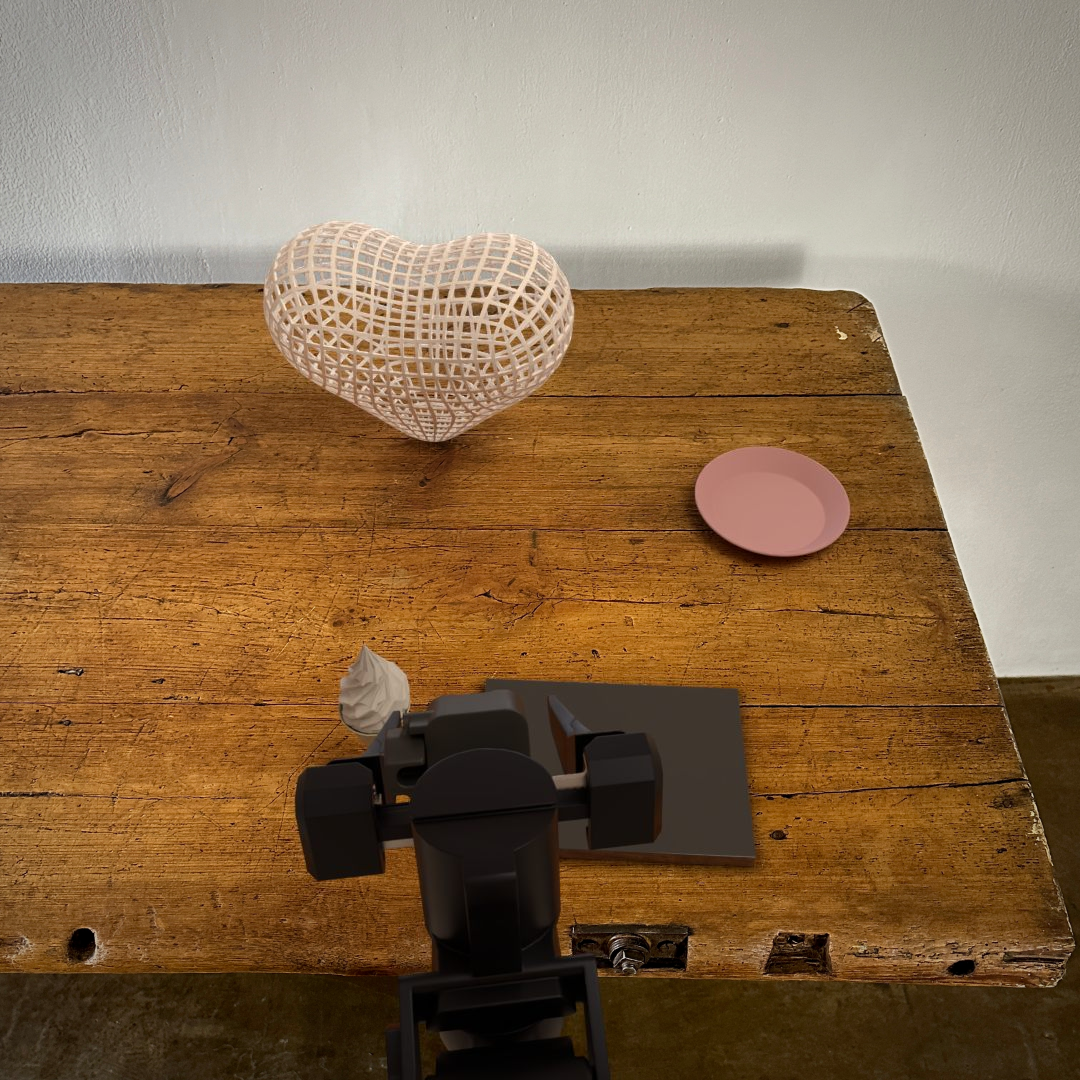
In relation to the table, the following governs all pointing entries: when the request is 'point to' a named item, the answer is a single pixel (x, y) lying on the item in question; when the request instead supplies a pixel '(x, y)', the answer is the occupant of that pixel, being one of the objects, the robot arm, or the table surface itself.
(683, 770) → the serving board
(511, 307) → the heart
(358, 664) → the ice cream cone
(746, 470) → the plate
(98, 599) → the table surface
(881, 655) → the table surface
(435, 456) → the table surface
